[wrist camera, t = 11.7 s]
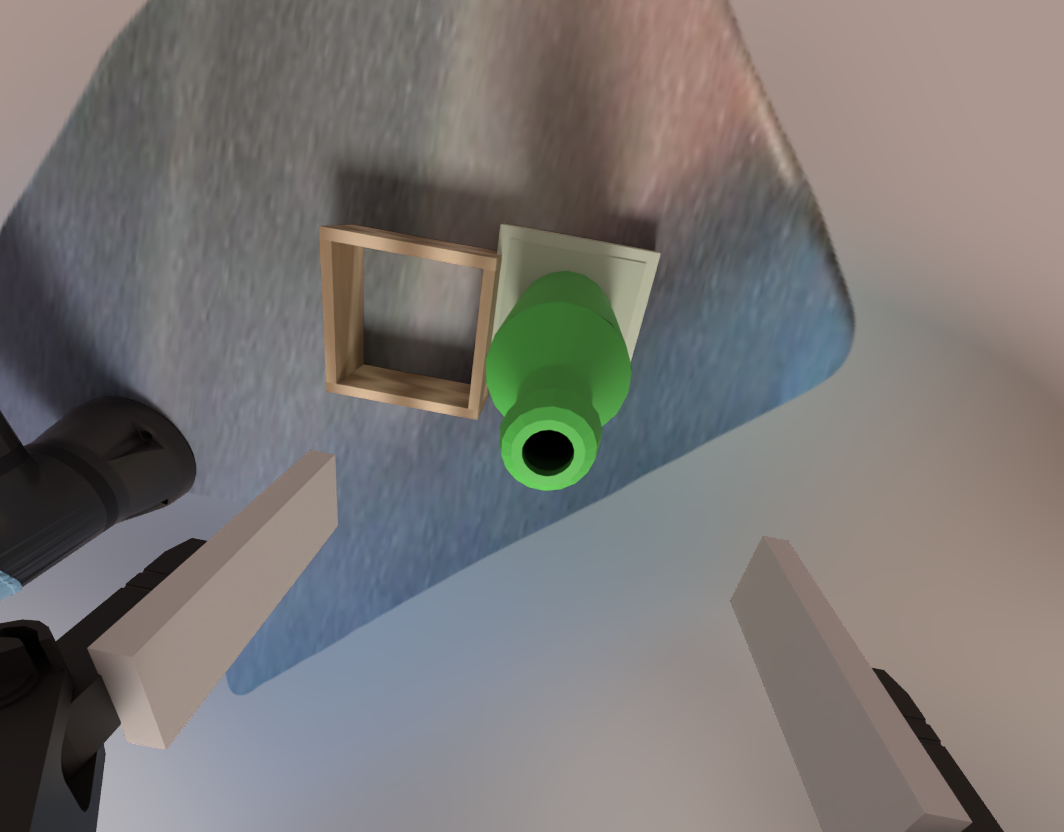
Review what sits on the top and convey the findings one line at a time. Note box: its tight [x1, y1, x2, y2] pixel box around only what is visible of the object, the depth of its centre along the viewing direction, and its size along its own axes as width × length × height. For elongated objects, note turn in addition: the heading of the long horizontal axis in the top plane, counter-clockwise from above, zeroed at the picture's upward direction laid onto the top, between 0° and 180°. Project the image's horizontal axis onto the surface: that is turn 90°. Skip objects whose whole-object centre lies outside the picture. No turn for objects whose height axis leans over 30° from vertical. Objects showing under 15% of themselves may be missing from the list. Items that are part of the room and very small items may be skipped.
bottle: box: [486, 271, 632, 491], centre depth 29 cm, size 9×9×25 cm
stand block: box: [491, 224, 661, 362], centre depth 41 cm, size 14×14×3 cm
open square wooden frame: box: [319, 225, 502, 420], centre depth 42 cm, size 15×15×6 cm
